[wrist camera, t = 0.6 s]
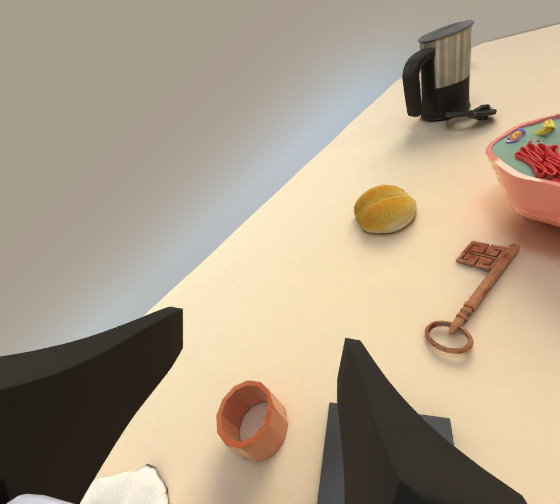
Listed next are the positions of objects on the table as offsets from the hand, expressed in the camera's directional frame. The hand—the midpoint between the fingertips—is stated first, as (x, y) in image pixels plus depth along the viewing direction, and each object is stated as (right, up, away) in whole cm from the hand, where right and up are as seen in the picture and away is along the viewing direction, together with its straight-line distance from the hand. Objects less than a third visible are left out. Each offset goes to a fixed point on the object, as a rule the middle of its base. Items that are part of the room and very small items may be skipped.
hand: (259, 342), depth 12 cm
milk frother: (+37, +32, +45) cm, 66 cm away
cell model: (+34, +8, +18) cm, 39 cm away
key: (+20, 0, +16) cm, 26 cm away
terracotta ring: (-1, -12, +14) cm, 19 cm away
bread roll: (+17, +9, +30) cm, 35 cm away
